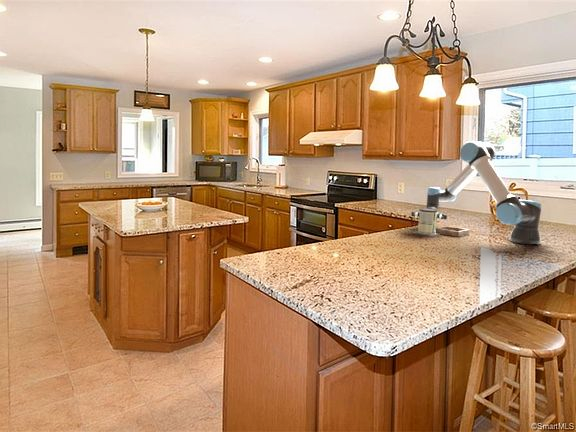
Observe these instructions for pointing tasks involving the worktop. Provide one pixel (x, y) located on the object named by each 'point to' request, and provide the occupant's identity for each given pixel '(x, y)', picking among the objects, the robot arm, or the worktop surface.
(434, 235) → the rubber mat
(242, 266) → the worktop surface
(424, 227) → the coffee can
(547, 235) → the worktop surface
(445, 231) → the wooden tray
